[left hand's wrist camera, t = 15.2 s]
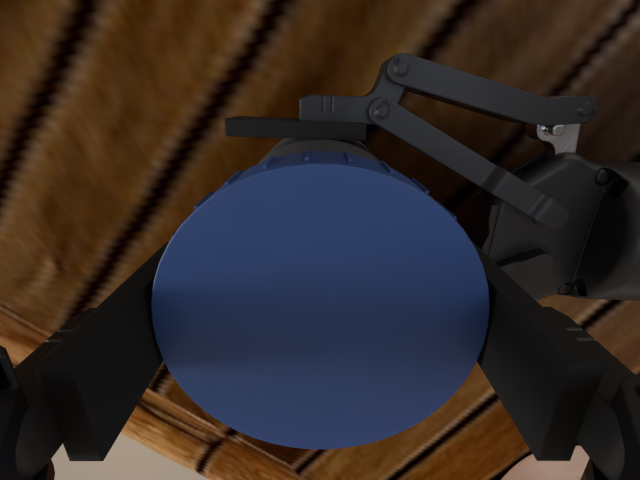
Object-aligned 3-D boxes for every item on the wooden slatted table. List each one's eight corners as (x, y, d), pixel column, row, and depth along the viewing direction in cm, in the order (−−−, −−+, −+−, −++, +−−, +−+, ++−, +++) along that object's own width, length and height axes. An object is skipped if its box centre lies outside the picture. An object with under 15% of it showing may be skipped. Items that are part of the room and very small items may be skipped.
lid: (223, 415, 14) (208, 467, 12) (133, 181, 11) (90, 199, 9) (467, 381, 14) (492, 430, 12) (457, 120, 10) (492, 125, 8)
